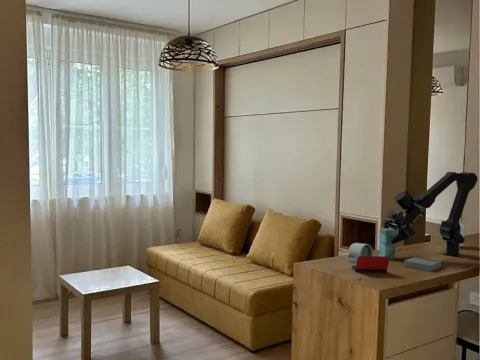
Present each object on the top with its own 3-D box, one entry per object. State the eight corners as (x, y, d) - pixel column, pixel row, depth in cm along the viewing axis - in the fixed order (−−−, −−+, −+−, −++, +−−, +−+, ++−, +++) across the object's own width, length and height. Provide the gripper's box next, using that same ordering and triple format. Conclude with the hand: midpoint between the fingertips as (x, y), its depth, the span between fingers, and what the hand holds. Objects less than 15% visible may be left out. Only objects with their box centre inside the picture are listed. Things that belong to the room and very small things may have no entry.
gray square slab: (415, 262, 199) (415, 256, 199) (441, 267, 191) (441, 261, 191) (403, 266, 191) (404, 260, 191) (430, 271, 183) (430, 265, 183)
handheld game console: (381, 268, 189) (382, 250, 188) (389, 275, 178) (390, 256, 178) (351, 268, 189) (351, 250, 189) (357, 275, 178) (357, 256, 178)
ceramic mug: (358, 257, 208) (358, 240, 207) (373, 260, 201) (373, 243, 200) (341, 260, 202) (342, 243, 201) (356, 264, 195) (356, 246, 195)
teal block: (388, 256, 210) (389, 228, 209) (394, 259, 205) (395, 230, 204) (378, 257, 209) (379, 228, 208) (384, 259, 204) (385, 230, 203)
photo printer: (456, 245, 238) (457, 221, 237) (464, 246, 234) (465, 222, 233) (445, 247, 232) (446, 222, 231) (453, 248, 228) (454, 224, 228)
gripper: (386, 201, 215) (364, 225, 213) (410, 206, 197) (386, 232, 195) (401, 218, 218) (379, 242, 216) (425, 224, 200) (402, 250, 198)
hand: (386, 241), depth 206 cm, fingers open, 9 cm apart
